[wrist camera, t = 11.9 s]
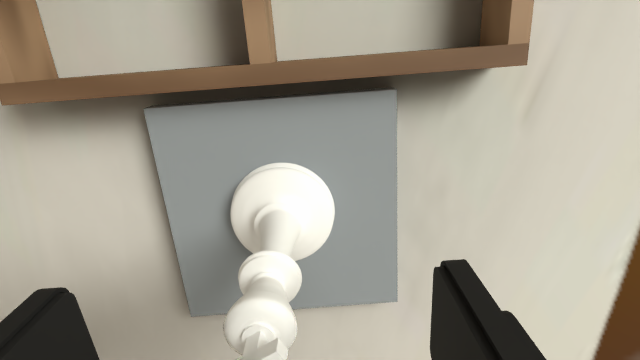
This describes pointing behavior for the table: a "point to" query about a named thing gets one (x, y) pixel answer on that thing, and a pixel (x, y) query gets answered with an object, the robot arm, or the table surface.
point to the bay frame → (44, 85)
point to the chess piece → (274, 254)
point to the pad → (282, 147)
